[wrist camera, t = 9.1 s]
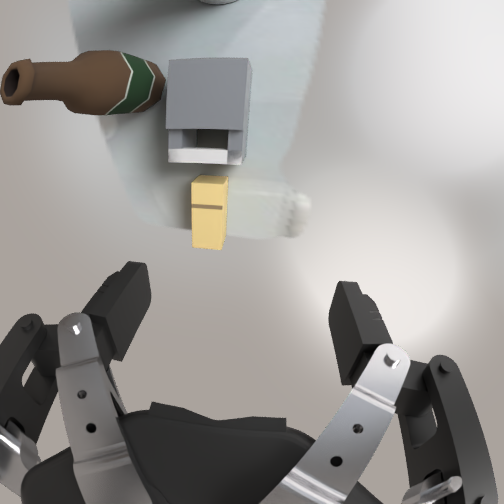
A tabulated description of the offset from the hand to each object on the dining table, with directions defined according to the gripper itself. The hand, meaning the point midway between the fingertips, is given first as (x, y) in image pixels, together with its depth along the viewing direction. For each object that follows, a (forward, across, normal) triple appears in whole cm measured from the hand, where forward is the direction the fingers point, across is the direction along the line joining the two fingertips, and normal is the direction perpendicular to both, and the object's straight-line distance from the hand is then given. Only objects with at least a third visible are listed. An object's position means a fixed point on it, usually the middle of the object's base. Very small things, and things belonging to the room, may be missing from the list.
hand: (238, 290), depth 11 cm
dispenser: (+28, +6, -7) cm, 30 cm away
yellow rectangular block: (+28, +6, +6) cm, 29 cm away
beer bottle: (+28, +17, -11) cm, 35 cm away
